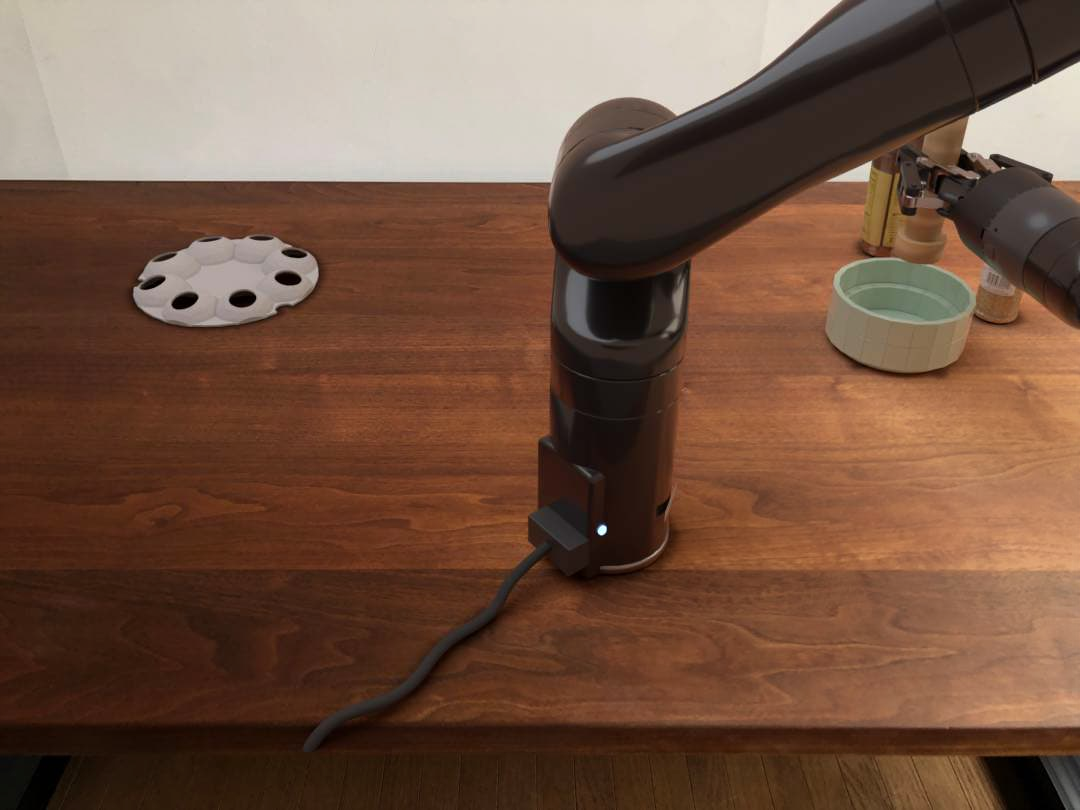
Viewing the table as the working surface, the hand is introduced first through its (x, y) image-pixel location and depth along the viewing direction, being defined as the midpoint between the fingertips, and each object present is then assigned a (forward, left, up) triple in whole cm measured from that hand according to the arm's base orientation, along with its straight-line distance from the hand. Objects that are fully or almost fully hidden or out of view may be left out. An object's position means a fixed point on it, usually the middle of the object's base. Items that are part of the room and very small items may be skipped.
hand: (921, 152), depth 95 cm
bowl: (-1, -2, -19) cm, 19 cm away
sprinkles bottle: (+12, -5, -19) cm, 23 cm away
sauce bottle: (+15, +11, -19) cm, 27 cm away
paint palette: (-48, +50, -19) cm, 72 cm away
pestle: (-1, -3, -9) cm, 9 cm away
